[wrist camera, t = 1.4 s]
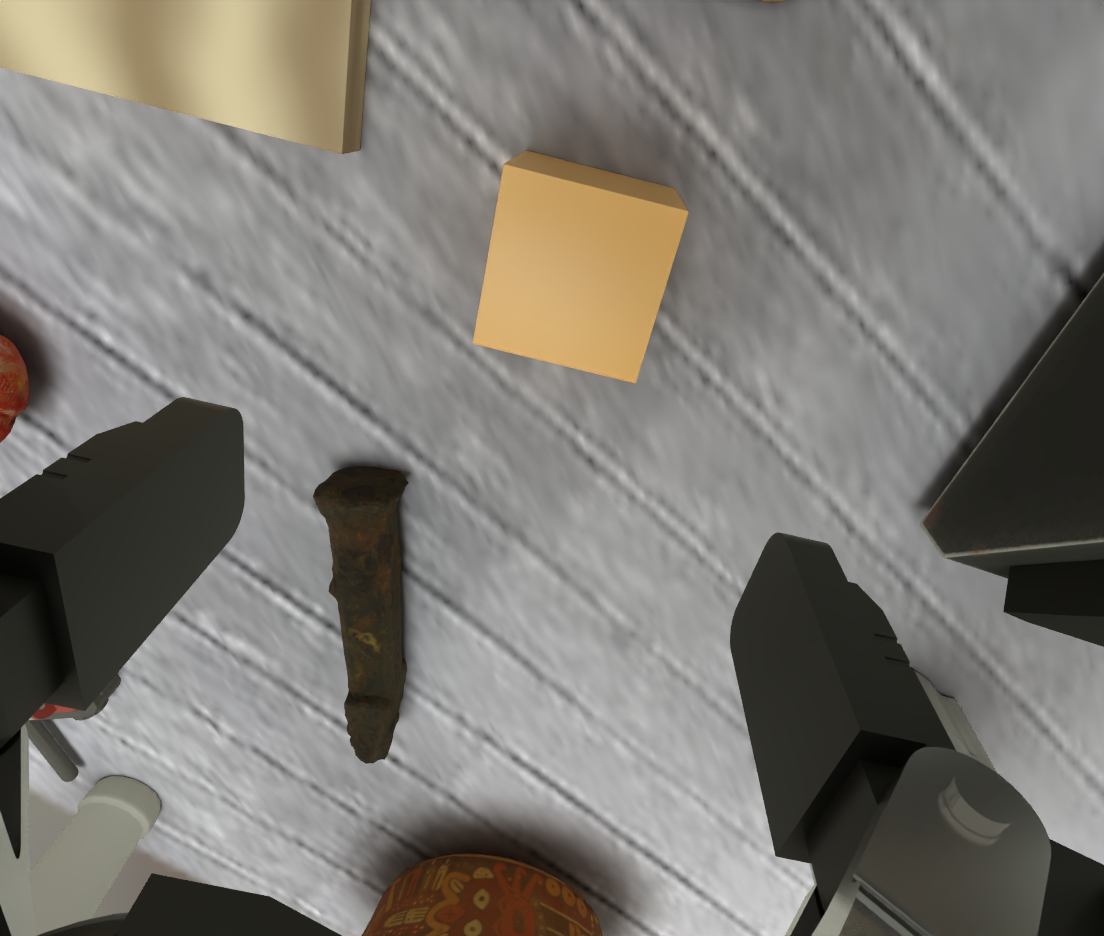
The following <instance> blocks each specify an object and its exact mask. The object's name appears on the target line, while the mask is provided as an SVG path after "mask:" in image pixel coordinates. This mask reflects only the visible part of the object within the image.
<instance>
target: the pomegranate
mask: <svg viewBox="0 0 1104 936" xmlns="http://www.w3.org/2000/svg"><path fill="white" fill-rule="evenodd" d="M28 400H29V379H28V373H27V369H26V365H25V362H24V360H23V358H22V357H21V355H20V352H19V350H18V349H17V348H16V346H15V345H14V344H13V343H12V342H11V341H10V340H8V339H7V338H5V337H3V336H2V335H0V442H1V441H2V440H4V439H5V438H6V436H7V435H8V434H9V433H10V432H11V429H12V427H13V425H14V423H15V420H16V417H17V416H18V415H19V414H20V413H21V412H22V411H23V410H25V409H26V407H27V405H28Z"/></svg>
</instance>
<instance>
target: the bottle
mask: <svg viewBox="0 0 1104 936" xmlns="http://www.w3.org/2000/svg"><path fill="white" fill-rule="evenodd" d="M160 804H161V801H160V800H159V798H158V796H157V794H156V793H155V792H154V791H153V790H152V789H150V788H149V787H148V786H147V785H145V784H143V783H141V782H139V781H137V780H135V779H131V778H127V777H124V776H110V777H107V778H104V779H102V780H100V781H99V782H98V783H97V784H96V785H95V786H94V787H93V788H92V789H91V790H90V791H89V792H88V794H87V795H86V796H85V797H84V798H83V800H82V801H81V802H80V803H79V805H78V813H77V814H76V815H75V817H74V818H73V819H72V820H71V822H70V823H69V824H68V826H67V827H66V828H65V829H64V831H63V832H62V833H61V835H60V836H59V837H58V838H57V840H56V841H55V842H54V844H53V845H52V846H51V847H50V849H49V850H48V851H47V853H46V854H45V855H44V856H43V858H42V859H41V860H40V862H39V863H38V864H37V865H36V867H35V868H34V869H33V870H32V872H31V873H30V883H31V894H32V902H33V909H34V915H35V921H36V928H37V935H40V934H42V933H45V932H48V931H51V930H54V929H57V928H60V927H64V926H67V925H70V924H73V923H76V922H79V921H83V920H88V919H91V918H92V916H93V914H94V913H95V911H96V909H97V908H98V906H99V905H100V903H101V901H102V900H103V898H104V897H105V895H106V893H107V892H108V890H109V888H110V887H111V885H112V884H113V882H114V880H115V879H116V877H117V875H118V874H119V872H120V870H121V869H122V867H123V866H124V864H125V863H126V861H127V859H128V858H129V856H130V854H131V853H132V851H133V850H134V848H135V846H136V845H137V843H138V841H139V840H140V839H142V838H144V837H145V836H146V835H147V834H148V833H149V831H150V830H151V828H152V827H153V825H154V823H155V821H156V819H157V817H158V815H159V812H160Z"/></svg>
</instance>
